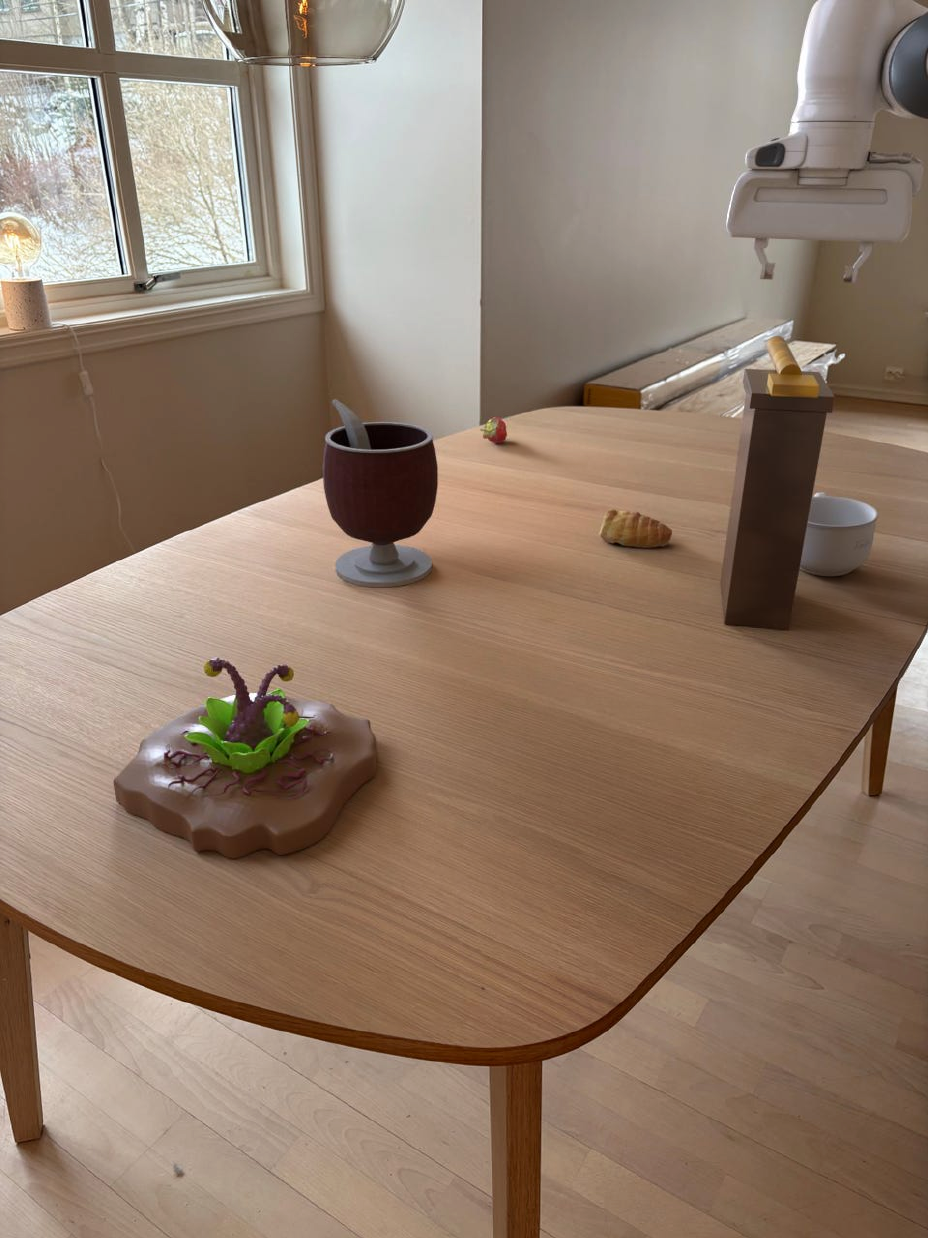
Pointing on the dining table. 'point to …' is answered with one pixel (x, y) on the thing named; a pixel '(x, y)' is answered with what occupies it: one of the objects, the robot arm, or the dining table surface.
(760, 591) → the rectangular pillar
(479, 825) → the dining table surface
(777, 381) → the toy blocks
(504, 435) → the fruit
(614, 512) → the pastry
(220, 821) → the plant
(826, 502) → the teacup
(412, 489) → the mate gourd
